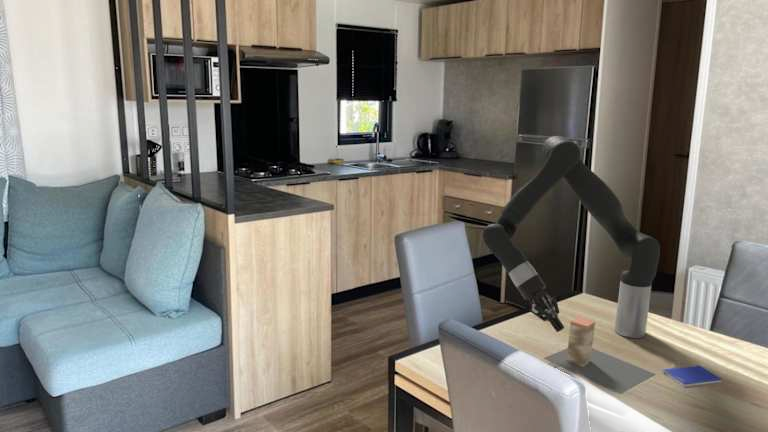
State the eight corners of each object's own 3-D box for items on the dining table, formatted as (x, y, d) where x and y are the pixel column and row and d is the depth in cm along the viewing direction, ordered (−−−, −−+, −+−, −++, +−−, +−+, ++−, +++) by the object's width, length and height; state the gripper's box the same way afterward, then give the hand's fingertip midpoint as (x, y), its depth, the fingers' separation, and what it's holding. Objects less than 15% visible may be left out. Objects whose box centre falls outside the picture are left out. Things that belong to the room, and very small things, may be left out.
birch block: (566, 360, 162) (570, 321, 160) (574, 355, 166) (578, 316, 163) (583, 366, 159) (587, 326, 156) (590, 361, 163) (595, 321, 160)
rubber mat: (579, 344, 175) (579, 343, 174) (655, 376, 156) (655, 374, 156) (543, 360, 164) (543, 358, 164) (620, 395, 145) (620, 393, 145)
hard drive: (683, 383, 151) (722, 378, 154) (662, 368, 158) (698, 364, 161) (683, 388, 151) (721, 383, 154) (661, 373, 159) (697, 369, 162)
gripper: (524, 278, 163) (560, 330, 158) (546, 269, 173) (580, 318, 167) (507, 291, 168) (541, 342, 162) (528, 281, 177) (561, 329, 172)
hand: (561, 330), depth 165 cm, fingers closed
